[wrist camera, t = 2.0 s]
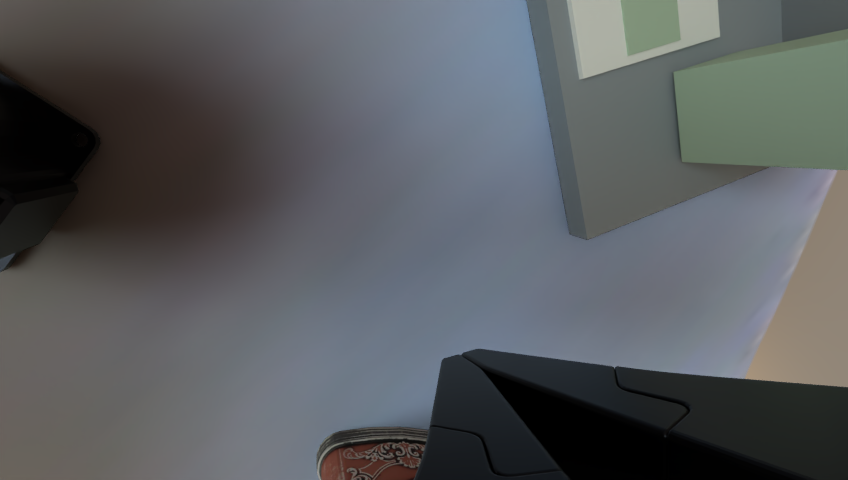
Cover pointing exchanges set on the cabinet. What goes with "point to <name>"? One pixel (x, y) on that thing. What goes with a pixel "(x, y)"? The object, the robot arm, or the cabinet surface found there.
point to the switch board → (644, 93)
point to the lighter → (371, 454)
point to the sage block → (768, 105)
